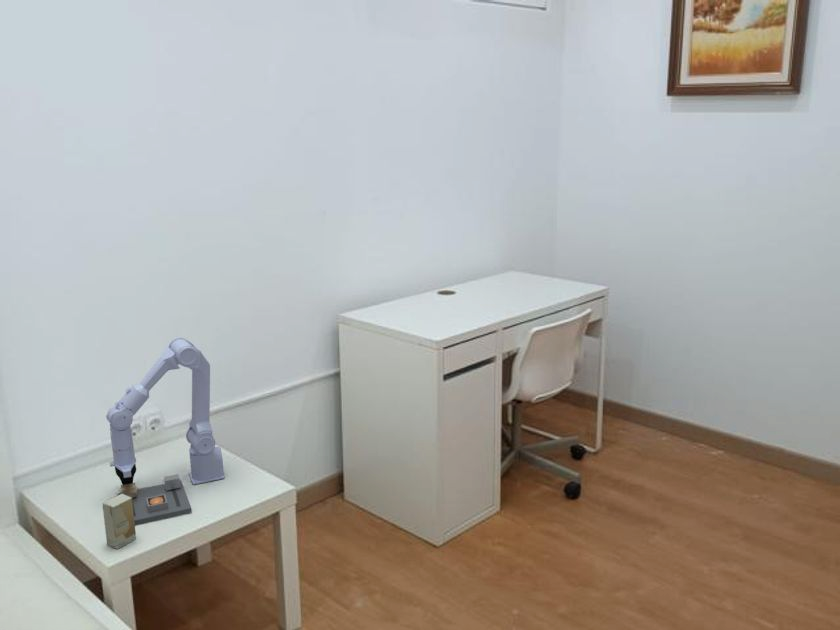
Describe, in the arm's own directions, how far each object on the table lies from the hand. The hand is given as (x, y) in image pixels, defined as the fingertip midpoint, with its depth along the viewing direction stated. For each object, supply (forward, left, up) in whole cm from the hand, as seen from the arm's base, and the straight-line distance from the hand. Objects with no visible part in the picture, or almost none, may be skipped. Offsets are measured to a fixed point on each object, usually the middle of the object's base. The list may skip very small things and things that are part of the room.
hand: (128, 489), depth 228 cm
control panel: (-6, +8, -2) cm, 11 cm away
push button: (-6, +12, -1) cm, 14 cm away
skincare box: (+4, +24, -3) cm, 25 cm away
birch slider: (0, +3, 0) cm, 3 cm away
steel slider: (-12, +3, 0) cm, 12 cm away
